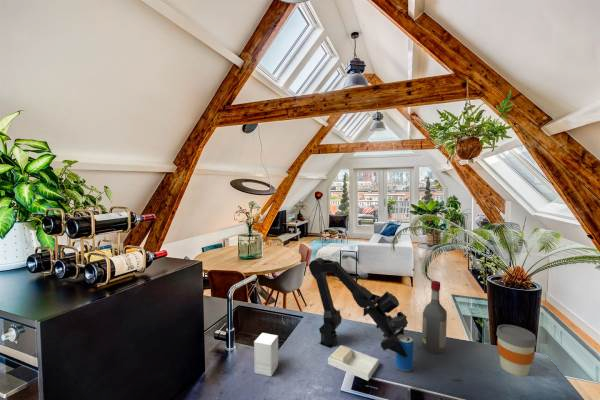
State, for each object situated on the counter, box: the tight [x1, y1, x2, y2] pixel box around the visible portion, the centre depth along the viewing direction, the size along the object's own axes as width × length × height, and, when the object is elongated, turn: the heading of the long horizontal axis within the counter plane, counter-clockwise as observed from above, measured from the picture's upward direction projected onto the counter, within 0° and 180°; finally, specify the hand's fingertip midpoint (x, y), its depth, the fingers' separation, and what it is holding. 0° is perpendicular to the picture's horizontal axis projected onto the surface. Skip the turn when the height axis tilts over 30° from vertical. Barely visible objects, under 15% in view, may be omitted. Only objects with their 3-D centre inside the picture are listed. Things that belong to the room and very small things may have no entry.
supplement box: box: [253, 332, 279, 377], centre depth 112 cm, size 7×7×13 cm
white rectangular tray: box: [327, 345, 380, 381], centre depth 114 cm, size 17×11×3 cm, turn 55°
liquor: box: [421, 280, 448, 355], centre depth 127 cm, size 9×9×30 cm
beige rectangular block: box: [331, 345, 353, 364], centre depth 117 cm, size 5×8×4 cm, turn 145°
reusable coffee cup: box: [495, 324, 537, 377], centre depth 113 cm, size 13×13×15 cm
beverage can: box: [395, 334, 414, 372], centre depth 113 cm, size 6×6×12 cm
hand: (408, 352), depth 112 cm, fingers closed on beverage can, 6 cm apart
